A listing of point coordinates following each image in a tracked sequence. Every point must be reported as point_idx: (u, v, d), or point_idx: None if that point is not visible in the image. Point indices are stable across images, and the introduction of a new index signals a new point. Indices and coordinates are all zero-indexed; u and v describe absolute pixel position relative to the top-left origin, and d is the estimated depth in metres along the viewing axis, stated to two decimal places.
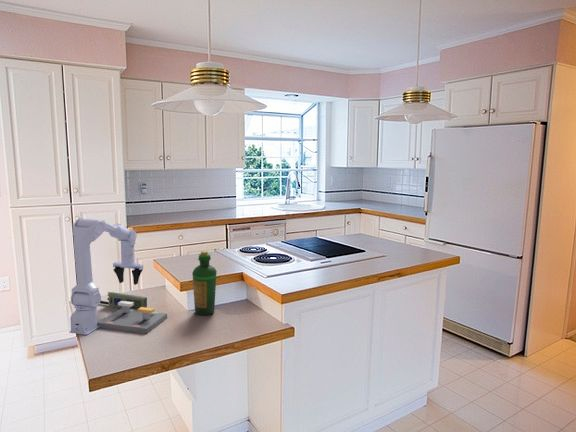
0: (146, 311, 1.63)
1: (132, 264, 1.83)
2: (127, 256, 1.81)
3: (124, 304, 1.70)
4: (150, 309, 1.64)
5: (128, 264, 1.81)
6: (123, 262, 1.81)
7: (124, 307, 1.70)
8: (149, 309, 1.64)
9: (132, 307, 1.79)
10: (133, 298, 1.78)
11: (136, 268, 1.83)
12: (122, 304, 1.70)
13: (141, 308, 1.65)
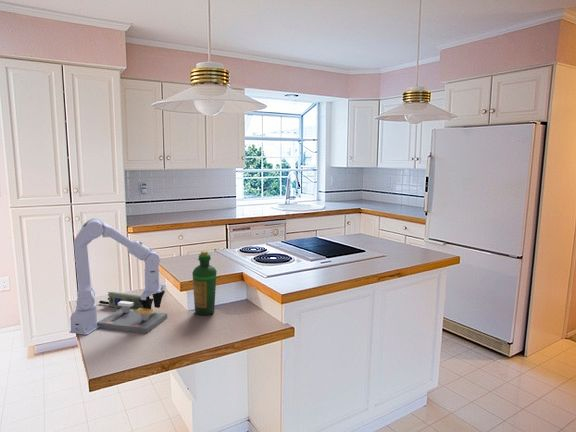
0: (145, 312, 1.62)
1: (147, 291, 1.66)
2: None
3: (124, 304, 1.70)
4: (149, 310, 1.63)
5: (145, 289, 1.67)
6: None
7: (124, 307, 1.70)
8: (148, 310, 1.63)
9: (133, 307, 1.79)
10: (134, 298, 1.79)
11: None
12: (122, 304, 1.70)
13: (140, 309, 1.64)
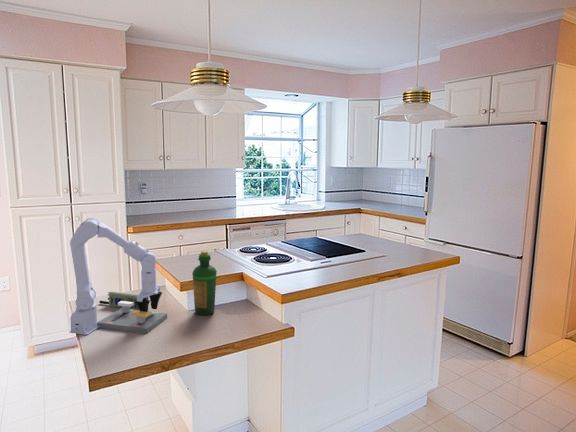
0: (140, 315, 1.59)
1: (143, 292, 1.63)
2: (141, 281, 1.64)
3: (124, 304, 1.70)
4: (145, 313, 1.60)
5: None
6: None
7: (124, 307, 1.70)
8: (144, 313, 1.60)
9: (133, 306, 1.80)
10: (134, 297, 1.79)
11: None
12: (122, 304, 1.70)
13: (135, 312, 1.61)
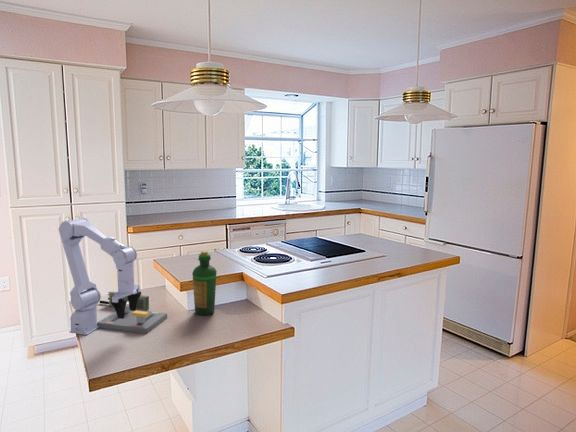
0: (140, 315, 1.59)
1: (120, 292, 1.48)
2: None
3: None
4: (145, 313, 1.60)
5: (118, 290, 1.49)
6: None
7: None
8: (144, 313, 1.60)
9: None
10: None
11: None
12: None
13: (135, 312, 1.61)
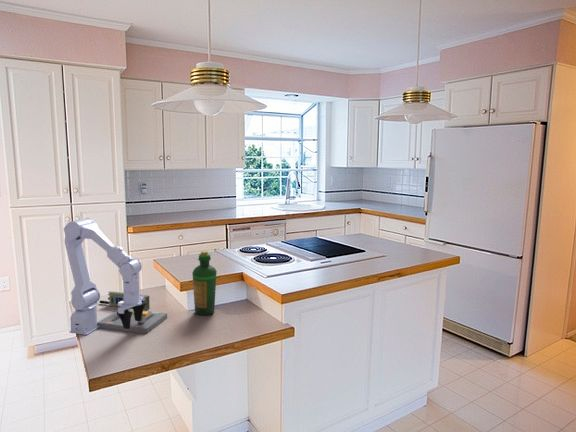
0: None
1: (125, 303, 1.52)
2: (123, 291, 1.53)
3: None
4: (145, 312, 1.60)
5: None
6: None
7: None
8: (144, 312, 1.60)
9: None
10: None
11: None
12: None
13: None
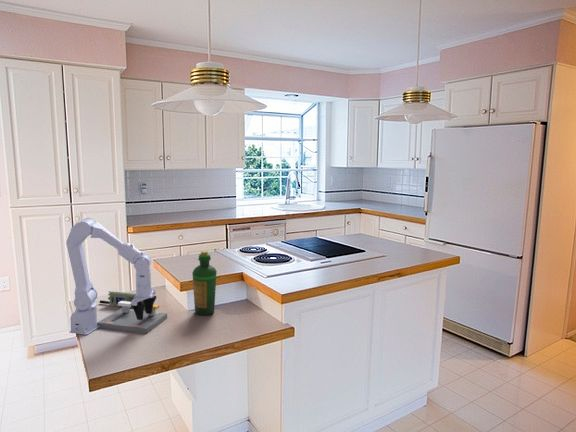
0: None
1: (138, 296, 1.60)
2: (136, 285, 1.61)
3: (124, 304, 1.70)
4: (155, 305, 1.68)
5: (136, 294, 1.61)
6: None
7: (124, 307, 1.70)
8: (154, 305, 1.68)
9: None
10: None
11: None
12: (122, 304, 1.70)
13: None
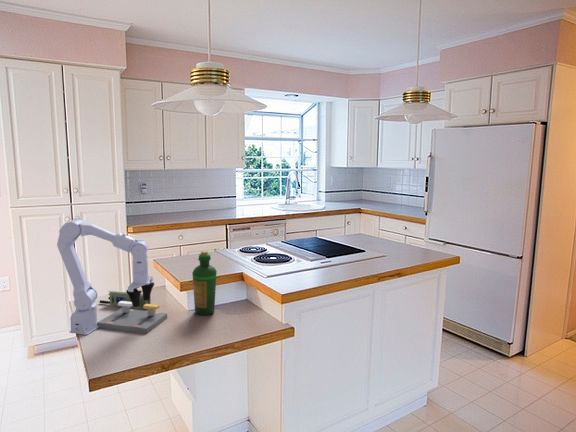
0: (151, 307, 1.67)
1: (135, 282, 1.59)
2: None
3: (124, 304, 1.70)
4: (155, 305, 1.68)
5: (133, 281, 1.60)
6: None
7: (124, 307, 1.70)
8: (154, 305, 1.68)
9: None
10: None
11: None
12: (122, 304, 1.70)
13: (146, 305, 1.69)
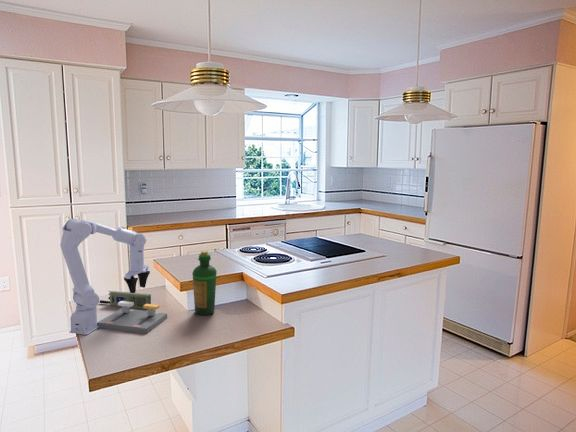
0: (151, 307, 1.67)
1: (132, 270, 1.72)
2: None
3: (124, 304, 1.70)
4: (155, 305, 1.68)
5: (130, 269, 1.73)
6: None
7: (124, 307, 1.70)
8: (154, 305, 1.68)
9: (136, 305, 1.82)
10: (137, 296, 1.81)
11: None
12: (122, 304, 1.70)
13: (146, 305, 1.69)
